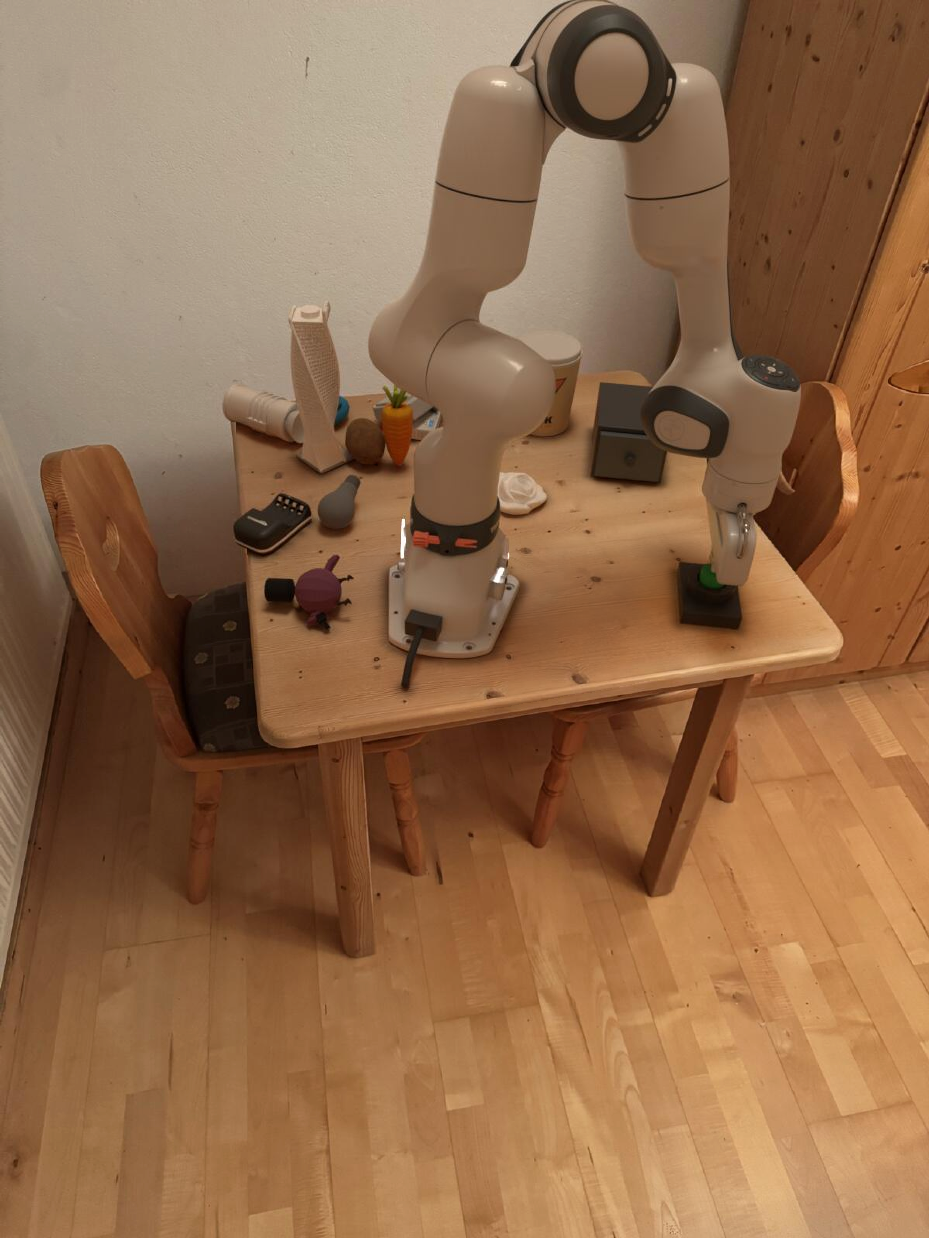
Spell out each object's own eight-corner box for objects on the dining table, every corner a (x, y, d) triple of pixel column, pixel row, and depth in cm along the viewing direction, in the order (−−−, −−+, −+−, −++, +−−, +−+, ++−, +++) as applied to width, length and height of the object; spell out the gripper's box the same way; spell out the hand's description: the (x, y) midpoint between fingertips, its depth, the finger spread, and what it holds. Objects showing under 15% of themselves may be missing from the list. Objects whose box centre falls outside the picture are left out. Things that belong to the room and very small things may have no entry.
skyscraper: (360, 462, 149) (349, 299, 130) (321, 480, 145) (304, 315, 126) (329, 441, 154) (315, 281, 135) (290, 458, 149) (270, 296, 130)
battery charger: (312, 500, 135) (262, 538, 128) (314, 520, 137) (265, 559, 130) (277, 485, 137) (225, 522, 130) (280, 505, 140) (229, 543, 133)
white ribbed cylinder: (294, 453, 151) (227, 429, 157) (319, 431, 155) (252, 408, 161) (286, 420, 146) (217, 397, 152) (311, 398, 150) (243, 375, 156)
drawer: (658, 486, 145) (666, 445, 140) (594, 480, 146) (600, 438, 141) (656, 439, 156) (664, 399, 151) (596, 433, 157) (602, 393, 151)
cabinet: (660, 483, 148) (671, 432, 141) (590, 476, 148) (597, 425, 142) (658, 436, 158) (668, 387, 152) (592, 430, 159) (599, 381, 152)
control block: (738, 629, 122) (745, 608, 119) (679, 623, 123) (685, 601, 120) (731, 578, 130) (738, 557, 127) (676, 572, 130) (681, 551, 128)
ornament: (324, 416, 152) (282, 397, 156) (327, 438, 155) (287, 419, 160) (356, 394, 156) (315, 376, 161) (359, 417, 160) (319, 398, 164)
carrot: (377, 467, 149) (373, 385, 138) (396, 454, 152) (394, 374, 141) (400, 477, 147) (398, 395, 136) (419, 465, 150) (418, 383, 139)
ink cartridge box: (445, 399, 161) (392, 393, 162) (434, 430, 153) (378, 424, 154) (444, 411, 163) (392, 405, 164) (434, 443, 155) (379, 436, 156)
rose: (486, 458, 143) (546, 458, 144) (485, 480, 147) (543, 481, 147) (488, 493, 136) (551, 494, 136) (486, 517, 139) (548, 518, 139)
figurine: (262, 628, 120) (348, 632, 118) (253, 574, 116) (342, 577, 115) (281, 602, 127) (363, 605, 125) (274, 550, 123) (358, 553, 122)
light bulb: (378, 488, 139) (351, 535, 134) (351, 491, 142) (324, 537, 137) (360, 462, 135) (331, 510, 130) (333, 465, 138) (304, 512, 133)
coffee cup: (497, 428, 159) (502, 349, 149) (526, 400, 166) (532, 323, 156) (557, 446, 155) (566, 367, 145) (583, 417, 162) (594, 339, 152)
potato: (337, 415, 149) (343, 446, 154) (347, 445, 142) (352, 478, 147) (376, 407, 150) (381, 439, 154) (387, 438, 143) (391, 470, 148)
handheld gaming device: (408, 400, 150) (415, 422, 151) (451, 372, 160) (456, 392, 162) (367, 405, 154) (373, 425, 156) (410, 376, 165) (416, 396, 167)
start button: (726, 590, 122) (729, 581, 121) (699, 587, 123) (702, 578, 121) (724, 574, 125) (726, 564, 124) (698, 571, 125) (700, 561, 124)
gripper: (775, 535, 105) (747, 619, 115) (755, 442, 120) (731, 524, 130) (721, 530, 106) (698, 615, 115) (707, 439, 121) (688, 520, 130)
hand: (716, 566), depth 123 cm, fingers closed
